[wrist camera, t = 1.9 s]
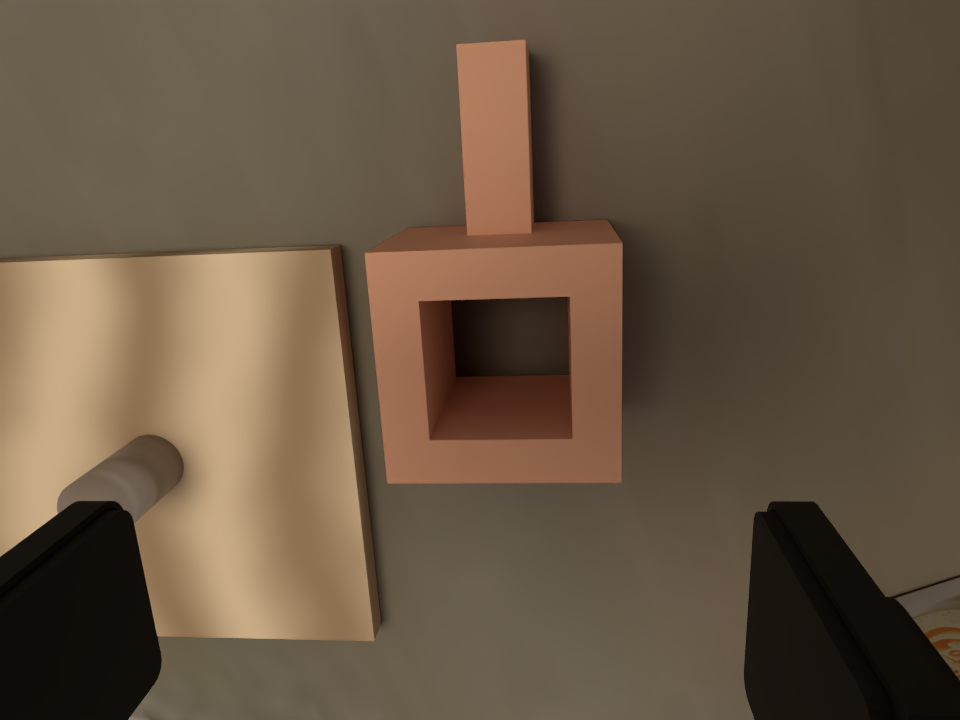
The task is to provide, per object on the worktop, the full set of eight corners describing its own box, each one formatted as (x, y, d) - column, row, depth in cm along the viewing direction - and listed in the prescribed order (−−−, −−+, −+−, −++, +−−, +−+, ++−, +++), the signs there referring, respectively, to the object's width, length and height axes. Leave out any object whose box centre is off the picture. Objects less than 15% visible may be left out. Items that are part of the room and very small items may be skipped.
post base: (340, 244, 26) (289, 269, 21) (381, 622, 30) (347, 715, 26) (-63, 260, 28) (-198, 287, 23) (33, 615, 32) (-62, 701, 27)
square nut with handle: (607, 409, 27) (621, 482, 21) (422, 412, 27) (387, 483, 22) (606, 46, 23) (623, 15, 17) (393, 61, 24) (343, 36, 18)
